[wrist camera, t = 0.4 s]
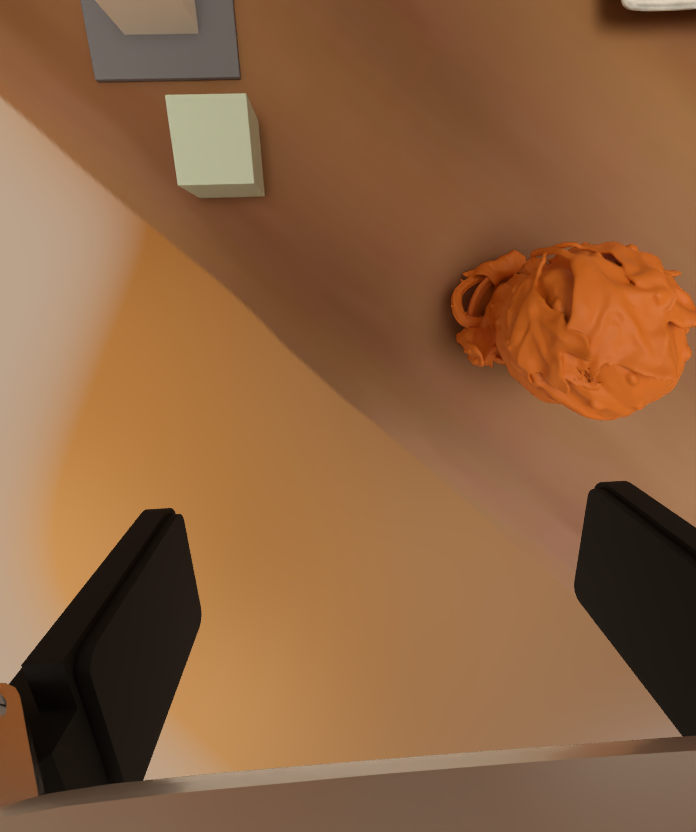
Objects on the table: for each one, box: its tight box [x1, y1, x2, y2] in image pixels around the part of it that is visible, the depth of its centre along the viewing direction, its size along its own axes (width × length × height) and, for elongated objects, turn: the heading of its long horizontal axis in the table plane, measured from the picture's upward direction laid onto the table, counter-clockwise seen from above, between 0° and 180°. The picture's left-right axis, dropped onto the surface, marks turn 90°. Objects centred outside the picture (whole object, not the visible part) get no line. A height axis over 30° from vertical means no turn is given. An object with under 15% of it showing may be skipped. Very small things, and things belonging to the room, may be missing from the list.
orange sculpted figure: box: [450, 241, 696, 420], centre depth 28 cm, size 11×11×18 cm
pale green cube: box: [165, 93, 265, 198], centre depth 29 cm, size 5×5×5 cm
